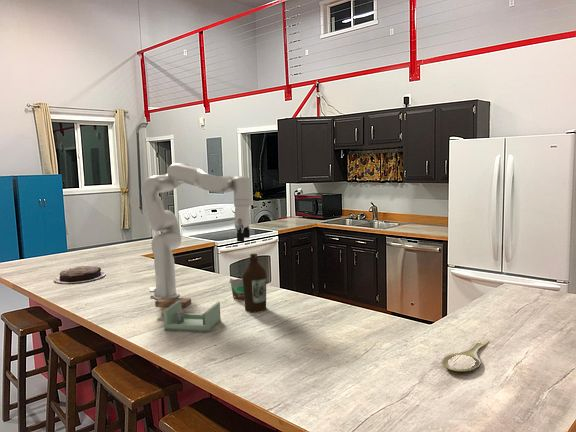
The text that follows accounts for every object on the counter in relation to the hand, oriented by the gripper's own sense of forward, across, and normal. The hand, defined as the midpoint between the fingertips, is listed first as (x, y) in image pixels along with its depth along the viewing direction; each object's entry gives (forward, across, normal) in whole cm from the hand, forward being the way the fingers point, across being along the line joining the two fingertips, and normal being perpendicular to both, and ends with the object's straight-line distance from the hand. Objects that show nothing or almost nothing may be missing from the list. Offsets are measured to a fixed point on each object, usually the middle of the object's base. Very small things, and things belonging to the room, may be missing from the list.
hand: (243, 239), depth 220 cm
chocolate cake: (+30, -35, -110) cm, 120 cm away
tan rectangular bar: (+30, +23, -26) cm, 46 cm away
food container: (+30, -3, -2) cm, 30 cm away
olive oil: (+30, +12, +8) cm, 33 cm away
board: (+26, +23, -26) cm, 43 cm away
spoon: (+30, +53, +91) cm, 110 cm away
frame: (+30, +35, -12) cm, 47 cm away
